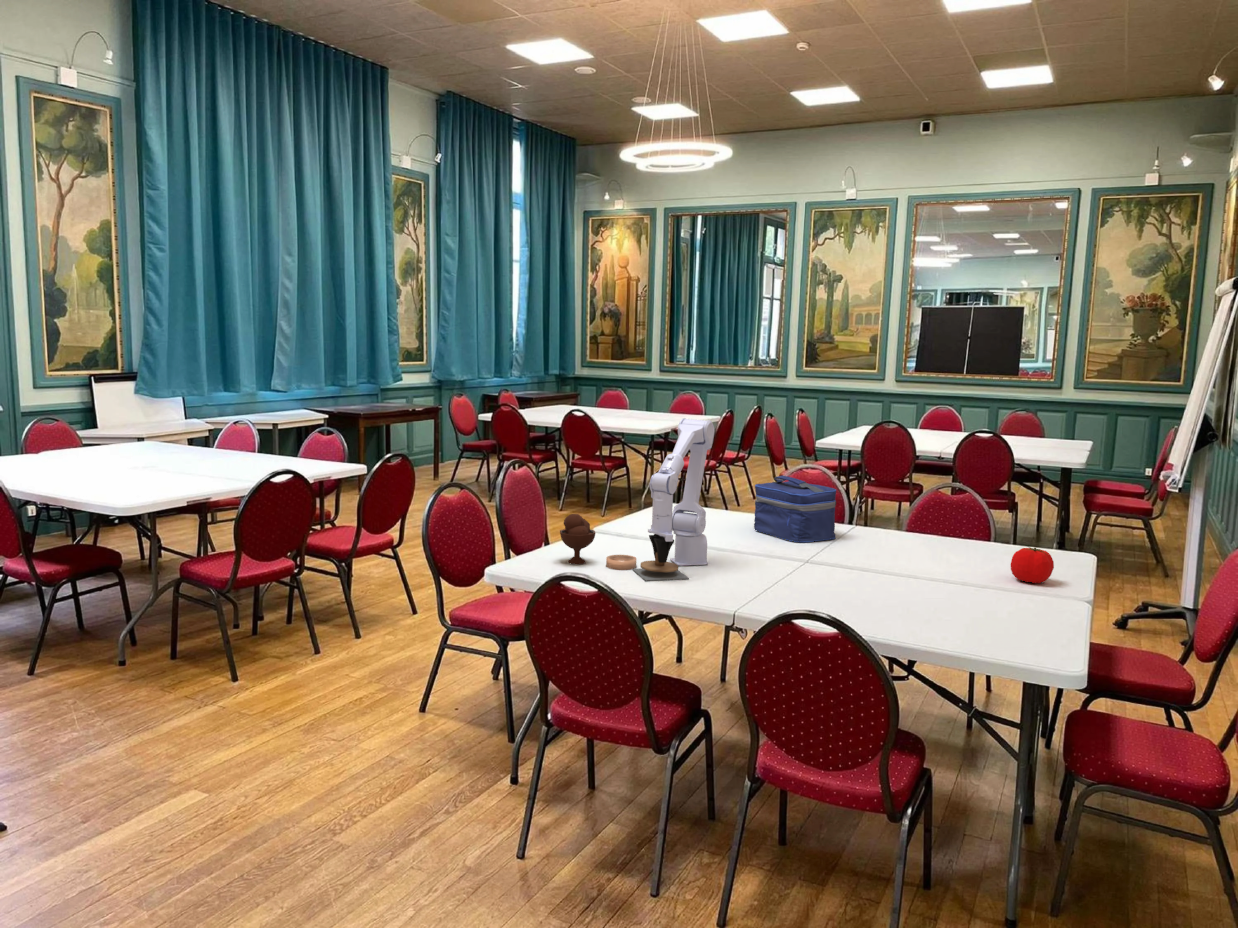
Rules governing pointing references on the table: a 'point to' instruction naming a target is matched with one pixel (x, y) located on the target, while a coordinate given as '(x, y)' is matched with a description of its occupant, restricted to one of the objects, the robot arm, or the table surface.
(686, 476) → the robot arm
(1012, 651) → the table surface
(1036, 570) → the tomato
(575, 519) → the ice cream bowl
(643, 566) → the lid
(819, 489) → the lunch bag
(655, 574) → the mat
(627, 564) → the dish
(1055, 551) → the table surface
